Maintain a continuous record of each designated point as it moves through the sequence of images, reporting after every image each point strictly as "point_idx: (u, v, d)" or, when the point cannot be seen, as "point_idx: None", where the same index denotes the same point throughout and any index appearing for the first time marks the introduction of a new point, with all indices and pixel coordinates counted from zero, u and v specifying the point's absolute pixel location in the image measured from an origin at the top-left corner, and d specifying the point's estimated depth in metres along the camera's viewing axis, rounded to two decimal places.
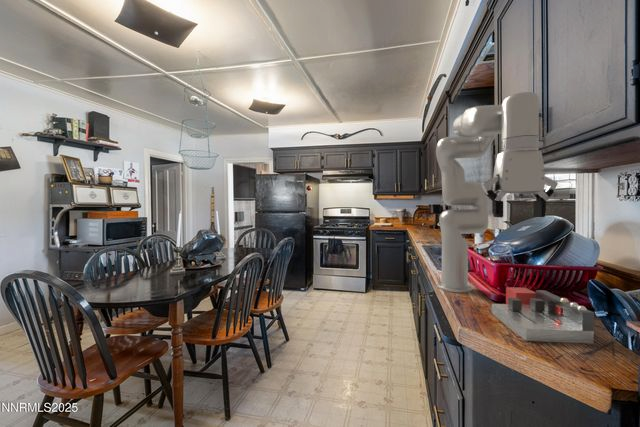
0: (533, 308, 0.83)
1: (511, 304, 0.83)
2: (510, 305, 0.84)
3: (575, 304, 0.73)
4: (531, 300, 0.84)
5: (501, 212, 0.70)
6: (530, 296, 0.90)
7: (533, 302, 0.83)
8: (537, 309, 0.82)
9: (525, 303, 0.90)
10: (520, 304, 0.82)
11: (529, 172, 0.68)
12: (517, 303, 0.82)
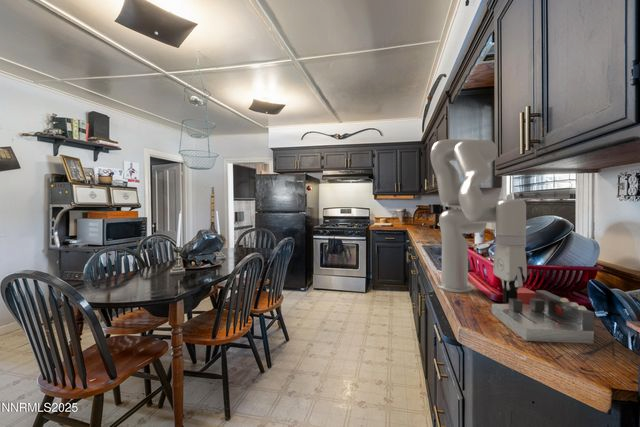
0: (533, 308, 0.83)
1: (512, 305, 0.83)
2: (511, 306, 0.83)
3: (575, 304, 0.73)
4: (531, 300, 0.84)
5: None
6: (530, 296, 0.90)
7: (533, 302, 0.83)
8: (537, 309, 0.82)
9: (525, 303, 0.90)
10: (521, 305, 0.82)
11: None
12: (518, 303, 0.82)
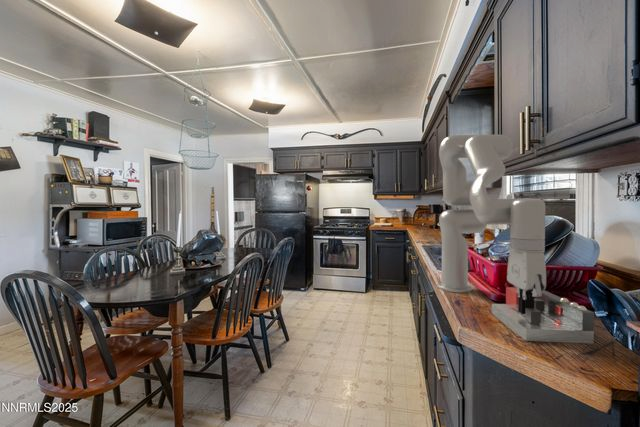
0: None
1: (529, 316, 0.75)
2: (528, 317, 0.75)
3: (575, 304, 0.73)
4: None
5: None
6: None
7: None
8: (537, 309, 0.82)
9: None
10: (539, 316, 0.74)
11: None
12: (536, 315, 0.74)
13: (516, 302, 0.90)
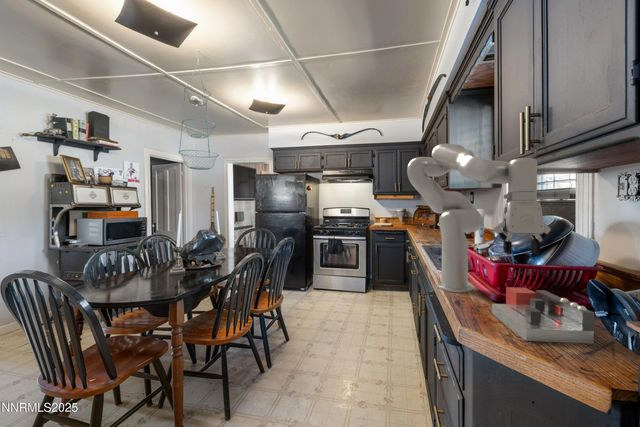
0: None
1: (529, 316, 0.75)
2: (528, 316, 0.75)
3: (575, 304, 0.73)
4: (531, 300, 0.84)
5: None
6: (530, 296, 0.90)
7: (533, 302, 0.83)
8: (537, 309, 0.82)
9: (525, 303, 0.90)
10: (539, 316, 0.74)
11: None
12: (536, 314, 0.74)
13: (516, 302, 0.90)
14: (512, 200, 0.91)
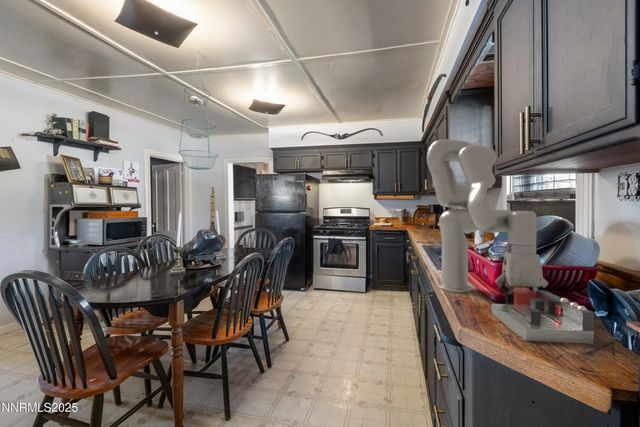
0: None
1: (529, 316, 0.75)
2: (528, 316, 0.75)
3: (575, 304, 0.73)
4: (531, 300, 0.84)
5: None
6: (530, 296, 0.90)
7: (533, 302, 0.83)
8: (537, 309, 0.82)
9: (525, 303, 0.90)
10: (539, 316, 0.74)
11: None
12: (536, 314, 0.74)
13: (516, 302, 0.90)
14: (511, 252, 0.91)
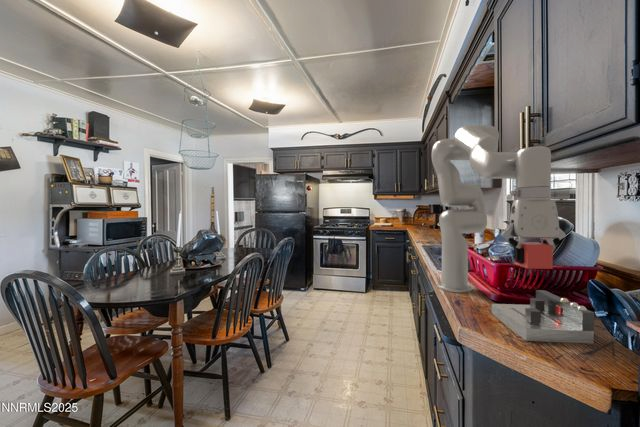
0: None
1: (529, 316, 0.75)
2: (528, 316, 0.75)
3: (575, 304, 0.73)
4: (531, 300, 0.84)
5: None
6: (544, 249, 0.74)
7: (533, 302, 0.83)
8: (537, 309, 0.82)
9: (538, 257, 0.74)
10: (539, 316, 0.74)
11: None
12: (536, 314, 0.74)
13: (528, 257, 0.74)
14: (521, 197, 0.76)
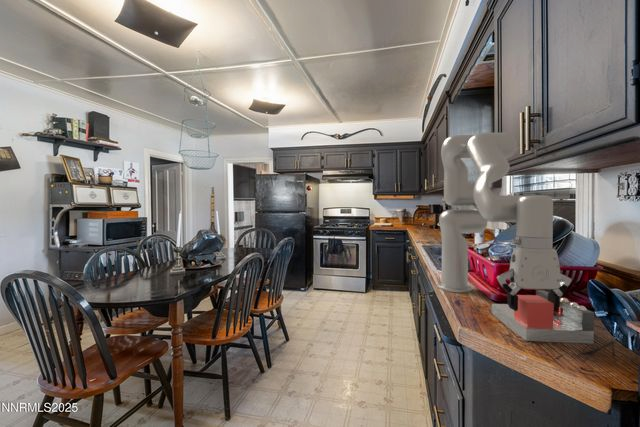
0: None
1: None
2: None
3: (575, 304, 0.73)
4: None
5: None
6: (545, 307, 0.72)
7: None
8: None
9: (539, 316, 0.72)
10: None
11: None
12: None
13: (527, 314, 0.73)
14: (522, 247, 0.74)
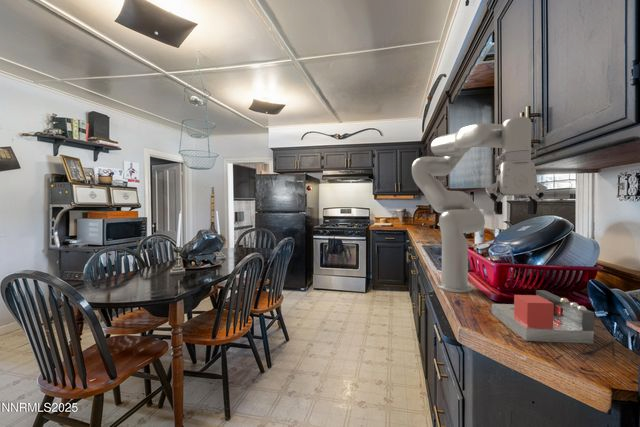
0: None
1: None
2: None
3: (575, 304, 0.73)
4: None
5: None
6: (545, 307, 0.72)
7: None
8: None
9: (539, 316, 0.72)
10: None
11: None
12: None
13: (527, 314, 0.73)
14: (505, 161, 0.89)
